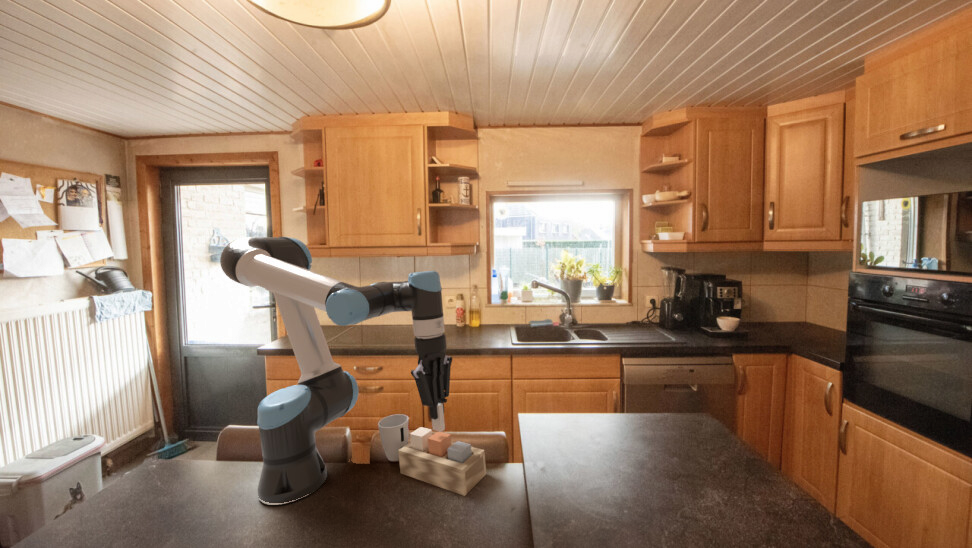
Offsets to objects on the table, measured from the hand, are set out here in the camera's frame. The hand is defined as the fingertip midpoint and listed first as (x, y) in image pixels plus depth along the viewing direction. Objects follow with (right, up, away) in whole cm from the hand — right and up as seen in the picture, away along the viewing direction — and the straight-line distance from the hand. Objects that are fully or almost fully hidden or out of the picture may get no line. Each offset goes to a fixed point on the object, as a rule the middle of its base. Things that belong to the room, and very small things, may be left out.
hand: (438, 429), depth 91 cm
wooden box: (+1, -11, +1) cm, 11 cm away
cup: (-13, -12, +11) cm, 21 cm away
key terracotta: (+1, -8, 0) cm, 8 cm away
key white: (-4, -8, +4) cm, 10 cm away
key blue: (+6, -9, -3) cm, 11 cm away
